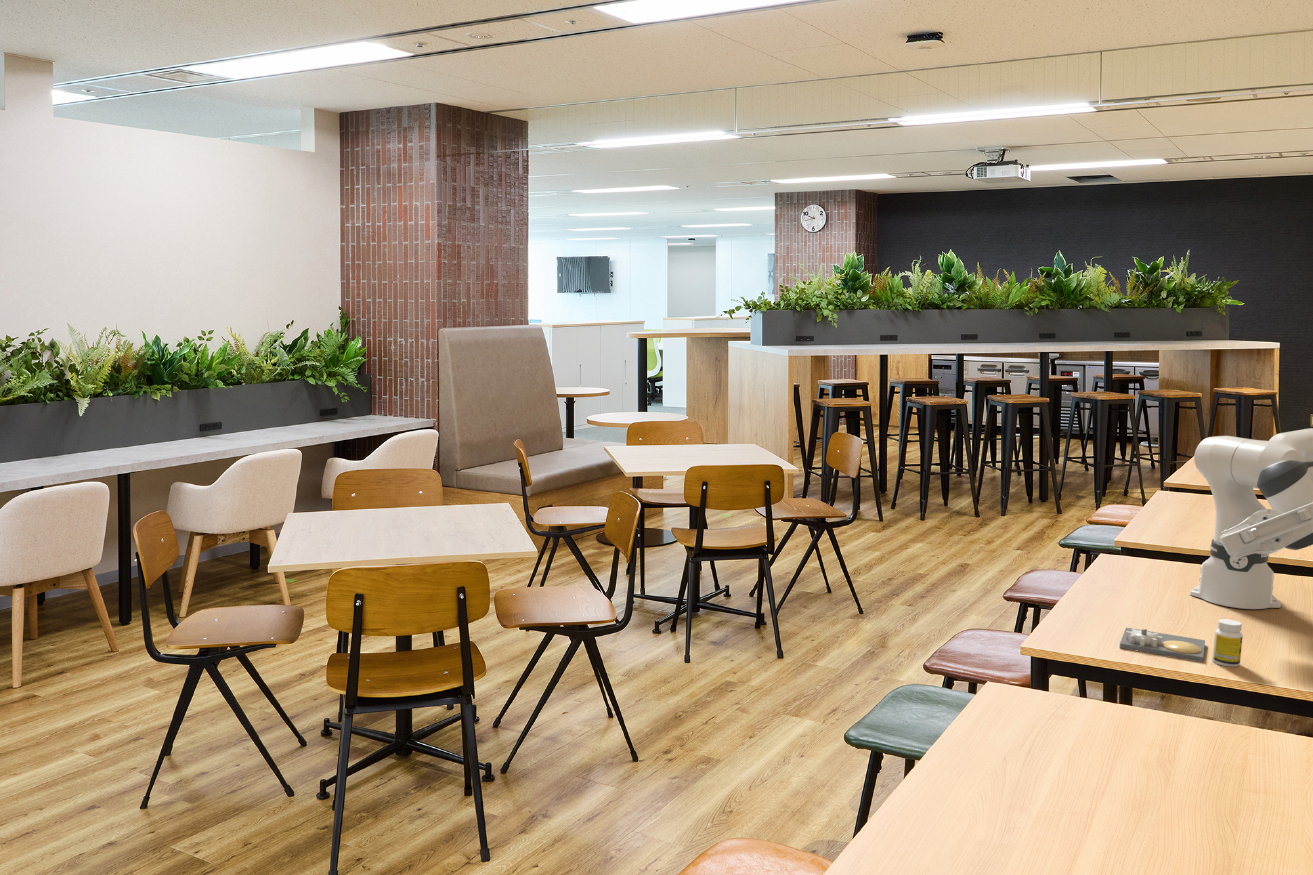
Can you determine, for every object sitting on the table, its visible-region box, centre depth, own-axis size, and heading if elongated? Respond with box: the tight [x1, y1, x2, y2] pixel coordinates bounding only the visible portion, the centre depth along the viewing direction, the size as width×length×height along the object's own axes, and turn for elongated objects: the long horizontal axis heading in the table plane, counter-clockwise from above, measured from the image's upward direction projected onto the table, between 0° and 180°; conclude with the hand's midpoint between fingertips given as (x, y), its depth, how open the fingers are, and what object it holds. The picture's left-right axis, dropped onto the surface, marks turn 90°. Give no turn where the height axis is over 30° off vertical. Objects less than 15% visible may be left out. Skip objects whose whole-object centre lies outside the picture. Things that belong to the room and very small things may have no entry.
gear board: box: [1119, 627, 1206, 663], centre depth 209 cm, size 12×15×4 cm
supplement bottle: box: [1212, 618, 1244, 668], centre depth 199 cm, size 5×5×8 cm
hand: (1278, 524), depth 203 cm, fingers open, 8 cm apart
